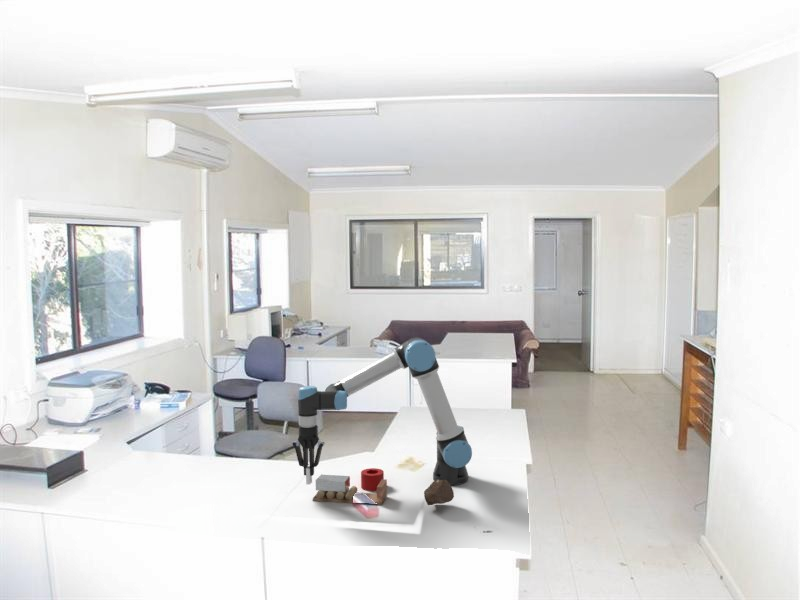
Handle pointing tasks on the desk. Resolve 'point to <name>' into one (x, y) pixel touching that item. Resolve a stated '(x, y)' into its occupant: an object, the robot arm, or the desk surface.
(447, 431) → the robot arm
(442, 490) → the rock
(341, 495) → the roller
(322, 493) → the roller
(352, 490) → the roller
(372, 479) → the lever
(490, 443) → the desk surface
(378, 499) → the board
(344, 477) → the slab
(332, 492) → the cylinder
